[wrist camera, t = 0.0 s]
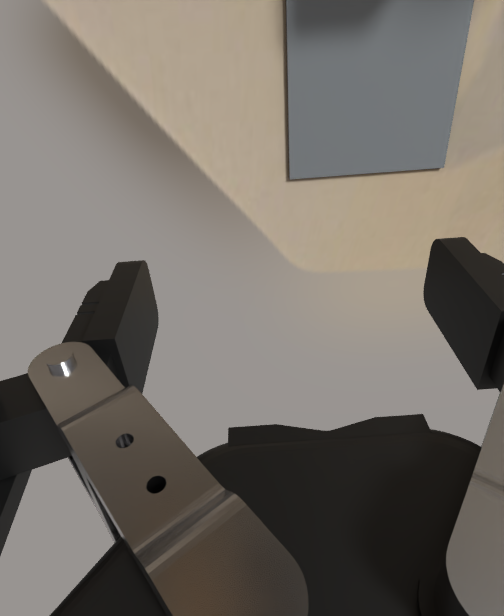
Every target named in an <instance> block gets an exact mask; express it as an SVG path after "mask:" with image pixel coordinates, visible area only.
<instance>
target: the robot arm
mask: <svg viewBox="0 0 504 616" xmlns="http://www.w3.org/2000/svg"><path fill="white" fill-rule="evenodd" d="M424 301H425V305H426V307H427V310H428V311H429V313H430V315H431V316H432V318H433V319H434V321H435V323H436V324H437V326H438V327H439V329H440V331H441V332H442V334H443V335H444V337H445V339H446V340H447V342H448V343H449V345H450V347H451V348H452V350H453V351H454V353H455V355H456V356H457V358H458V359H459V361H460V363H461V364H462V366H463V367H464V369H465V371H466V372H467V374H468V375H469V377H470V378H471V380H472V382H473V383H474V385H475V387H476V388H477V390H478V389H492V388H498V390H499V391H500V394H499V397H498V400H497V403H496V406H495V409H494V412H493V414H492V417H491V420H490V423H489V426H488V429H487V432H486V435H485V438H484V441H483V443H482V446H481V447H480V446H478V445H477V444H474V443H473V442H471V441H468V440H466V439H464V438H461V437H458V436H455V435H452V434H449V433H446V432H441V431H437V430H431V429H429V426H428V424H427V422H426V420H425V417H424V415H423V414H417V415H405V416H389V417H375V418H372V419H368V420H365V421H362V422H358V423H355V424H351V425H348V426H345V427H342V428H338V429H335V430H331V431H321V430H313V429H306V428H298V427H291V426H284V425H277V424H275V425H260V426H247V427H233V428H229V429H228V430H229V431H228V443H226V444H223V445H220V446H217V447H215V448H212V449H210V450H208V451H206V452H204V453H203V454H201V455H199V456H198V457H196V456H195V455H194V454H193V453H192V451H191V450H190V449H189V448H188V447H187V446H186V444H185V443H184V442H183V441H182V440H181V439H180V438H179V437H178V435H177V434H176V433H175V432H174V431H173V429H172V428H171V427H170V426H169V425H168V424H167V423H166V422H165V420H164V419H163V418H162V417H161V416H160V414H159V413H158V412H157V411H156V410H155V409H154V407H153V406H152V405H151V404H150V403H149V402H148V401H147V399H146V398H145V397H144V396H143V395H142V392H143V388H144V384H145V380H146V375H147V371H148V366H149V363H150V359H151V354H152V350H153V346H154V341H155V337H156V333H157V328H158V309H157V304H156V300H155V295H154V291H153V287H152V282H151V278H150V274H149V269H148V266H147V263H146V262H145V261H144V260H143V261H130V262H118V263H117V264H116V266H115V269H114V270H113V273H112V275H111V277H110V279H109V280H107V281H100V282H99V283H97V284H96V285H95V286H94V287H93V288H92V289H90V290H89V291H88V292H87V294H86V296H85V298H84V300H83V302H82V305H81V306H80V308H79V310H78V312H77V315H76V316H75V318H74V320H73V322H72V324H71V326H70V328H69V330H68V332H67V334H66V336H65V338H64V339H63V341H62V343H61V344H58V345H55V346H52V347H51V348H48V349H46V350H45V351H43V352H41V353H40V354H39V355H37V356H36V357H35V358H34V359H33V361H32V362H31V363H30V365H29V367H28V373H27V374H24V375H20V376H17V377H13V378H10V379H6V380H3V381H0V555H1V553H2V550H3V547H4V544H5V542H6V539H7V536H8V534H9V531H10V528H11V525H12V523H13V520H14V517H15V514H16V511H17V509H18V506H19V503H20V501H21V498H22V495H23V492H24V490H25V487H26V484H27V482H28V479H29V476H30V473H31V470H32V469H35V468H38V467H41V466H44V465H47V464H49V463H52V462H55V461H58V460H61V459H64V458H67V457H68V459H69V461H70V462H71V464H72V466H73V468H74V469H75V471H76V473H77V475H78V477H79V478H80V480H81V482H82V484H83V486H84V487H85V489H86V491H87V492H88V494H89V496H90V498H91V500H92V502H93V503H94V505H95V507H96V509H97V511H98V512H99V514H100V515H101V518H102V520H103V522H104V524H105V525H106V528H107V529H108V532H109V534H110V535H111V537H112V539H113V541H114V545H113V546H112V547H111V548H110V549H109V550H108V551H107V552H106V553H105V555H104V556H103V557H102V558H101V559H100V560H99V561H98V563H96V565H95V566H94V567H93V568H92V569H91V570H90V571H89V572H88V573H87V575H86V576H85V577H84V578H83V579H82V580H81V581H80V582H79V584H78V585H77V586H76V587H75V588H74V589H73V590H72V591H71V592H70V594H69V595H68V596H67V597H66V598H65V599H64V600H63V601H62V603H61V604H60V605H59V606H58V607H57V608H56V609H55V610H54V611H53V613H52V614H51V615H50V616H504V264H503V263H502V262H501V261H499V260H497V259H495V258H493V257H491V256H489V255H487V254H485V253H480V252H479V251H478V250H477V249H476V248H475V247H474V246H473V245H472V244H471V243H470V242H469V240H468V239H466V238H465V237H458V238H444V239H436V240H434V242H433V244H432V246H431V251H430V256H429V262H428V267H427V273H426V278H425V284H424Z"/></svg>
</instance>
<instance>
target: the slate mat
mask: <svg viewBox="0 0 504 616" xmlns="http://www.w3.org/2000/svg"><path fill="white" fill-rule="evenodd" d="M473 3H474V0H286V24H287V78H288V131H289V178H290V179H301V178H314V177H328V176H341V175H354V174H367V173H380V172H393V171H406V170H419V169H433V168H444V164H445V159H446V153H447V148H448V142H449V137H450V131H451V125H452V120H453V114H454V109H455V103H456V98H457V92H458V87H459V81H460V75H461V70H462V64H463V59H464V53H465V48H466V42H467V36H468V31H469V25H470V20H471V14H472V9H473Z"/></svg>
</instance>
